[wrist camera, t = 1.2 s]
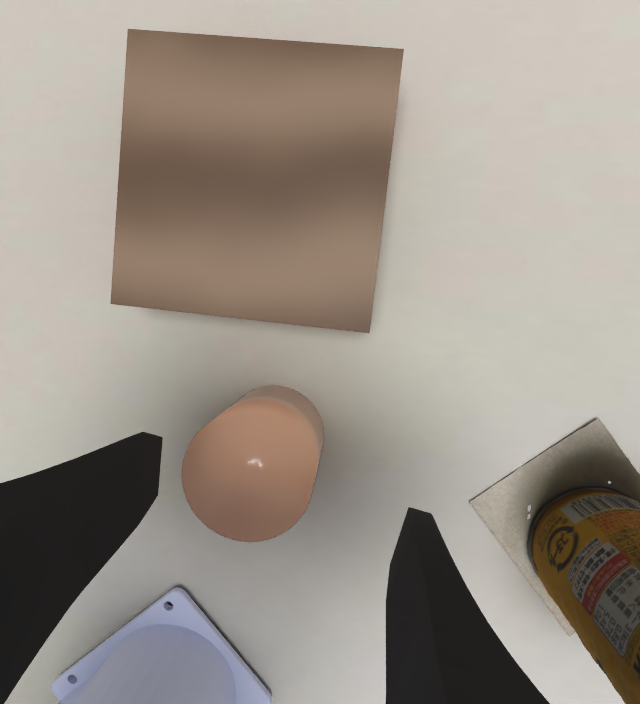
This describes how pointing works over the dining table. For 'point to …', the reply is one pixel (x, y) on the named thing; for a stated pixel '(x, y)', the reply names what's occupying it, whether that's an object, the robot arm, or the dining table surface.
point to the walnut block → (253, 177)
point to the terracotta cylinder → (255, 465)
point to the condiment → (579, 544)
